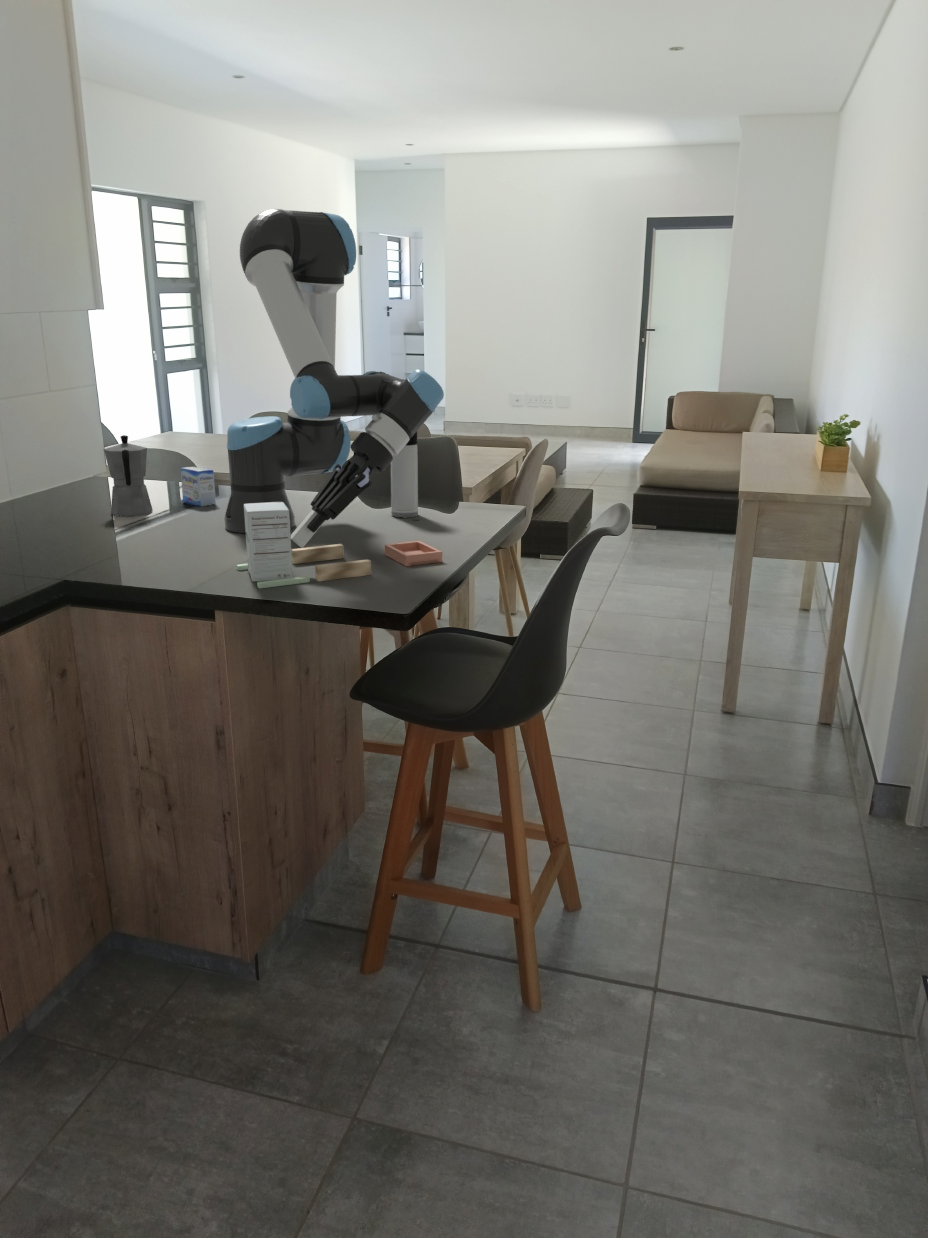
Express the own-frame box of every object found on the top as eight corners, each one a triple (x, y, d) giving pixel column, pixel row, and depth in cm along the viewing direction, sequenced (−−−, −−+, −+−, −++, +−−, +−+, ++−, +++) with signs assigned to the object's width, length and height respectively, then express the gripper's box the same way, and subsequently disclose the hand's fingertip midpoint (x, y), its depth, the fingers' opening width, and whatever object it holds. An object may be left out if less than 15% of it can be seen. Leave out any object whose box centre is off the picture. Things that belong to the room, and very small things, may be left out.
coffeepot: (111, 508, 221) (102, 432, 215) (152, 506, 224) (145, 431, 218) (110, 521, 207) (101, 440, 202) (154, 519, 210) (146, 439, 205)
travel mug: (423, 513, 218) (422, 428, 212) (410, 519, 213) (409, 431, 206) (400, 511, 221) (399, 426, 215) (386, 516, 215) (385, 429, 209)
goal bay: (259, 588, 157) (259, 583, 157) (236, 568, 169) (236, 564, 169) (309, 582, 162) (309, 577, 161) (283, 563, 174) (283, 559, 173)
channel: (318, 581, 162) (318, 567, 161) (291, 562, 174) (290, 549, 174) (371, 574, 167) (370, 561, 166) (340, 556, 179) (340, 543, 178)
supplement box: (247, 571, 168) (242, 502, 164) (288, 568, 170) (284, 500, 166) (250, 582, 161) (246, 510, 157) (293, 579, 163) (290, 508, 159)
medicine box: (182, 502, 229) (179, 467, 226) (197, 500, 232) (195, 465, 230) (201, 506, 224) (198, 471, 221) (216, 504, 227) (213, 469, 225)
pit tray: (406, 566, 172) (406, 555, 172) (384, 554, 181) (384, 544, 180) (442, 561, 176) (442, 551, 175) (419, 550, 184) (419, 540, 184)
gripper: (351, 426, 172) (269, 522, 169) (379, 433, 161) (292, 537, 158) (377, 453, 176) (298, 547, 173) (407, 462, 165) (323, 563, 162)
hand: (295, 542), depth 166 cm, fingers closed
